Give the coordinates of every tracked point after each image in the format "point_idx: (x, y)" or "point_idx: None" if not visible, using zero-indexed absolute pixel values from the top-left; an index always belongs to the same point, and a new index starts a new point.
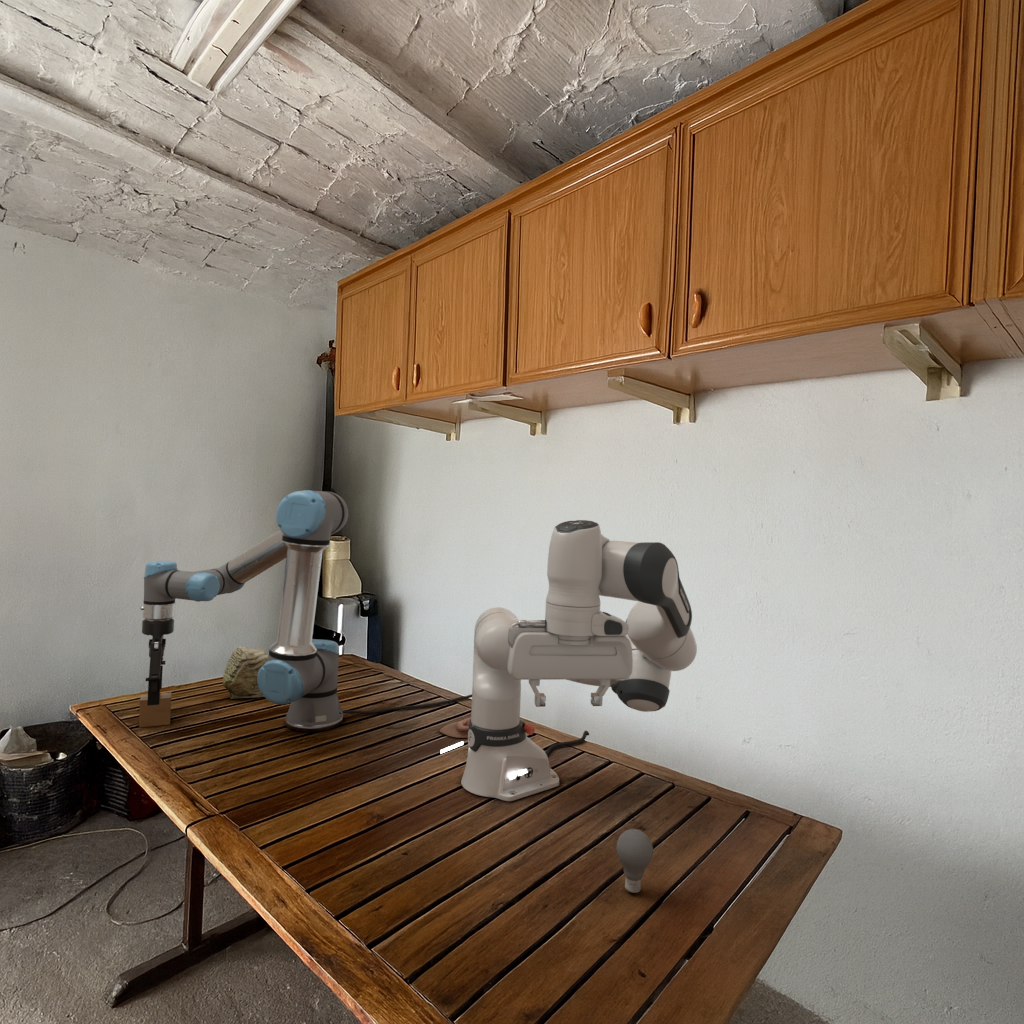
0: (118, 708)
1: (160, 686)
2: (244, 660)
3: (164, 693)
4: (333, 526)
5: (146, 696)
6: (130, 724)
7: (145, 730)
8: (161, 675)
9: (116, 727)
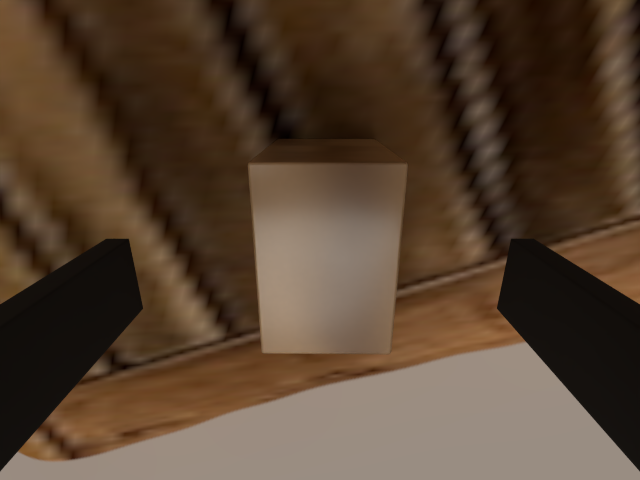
0: None
1: (119, 255)
2: None
3: (269, 214)
4: None
5: (312, 324)
6: None
7: (415, 242)
8: (46, 303)
9: None
